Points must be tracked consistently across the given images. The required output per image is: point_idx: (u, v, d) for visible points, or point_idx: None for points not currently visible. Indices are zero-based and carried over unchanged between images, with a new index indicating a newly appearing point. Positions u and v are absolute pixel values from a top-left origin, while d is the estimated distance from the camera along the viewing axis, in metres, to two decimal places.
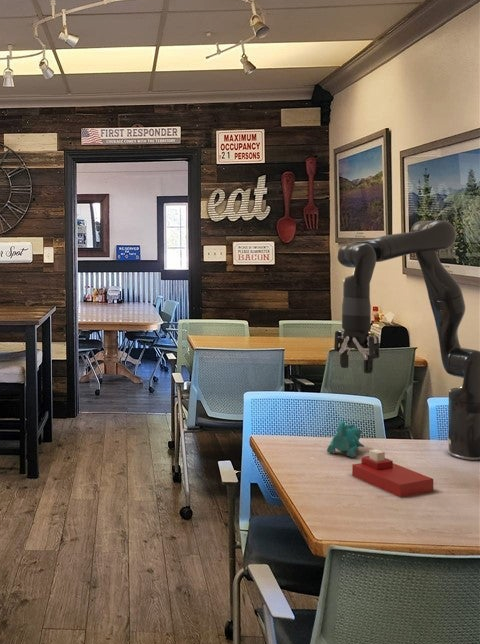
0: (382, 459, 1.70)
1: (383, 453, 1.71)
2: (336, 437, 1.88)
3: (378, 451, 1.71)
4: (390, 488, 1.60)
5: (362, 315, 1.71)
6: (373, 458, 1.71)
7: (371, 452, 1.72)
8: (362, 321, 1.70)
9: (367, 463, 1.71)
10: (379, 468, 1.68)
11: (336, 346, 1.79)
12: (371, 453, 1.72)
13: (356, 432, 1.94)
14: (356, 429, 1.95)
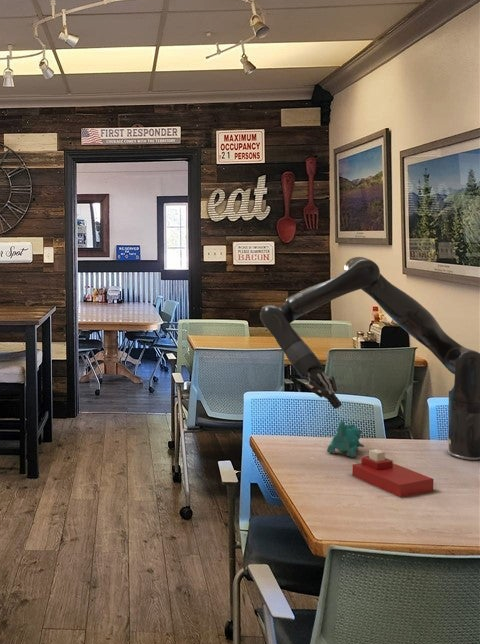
0: (382, 459, 1.70)
1: (383, 453, 1.71)
2: (336, 437, 1.88)
3: (378, 451, 1.71)
4: (390, 488, 1.60)
5: (294, 363, 1.89)
6: (373, 458, 1.71)
7: (371, 452, 1.72)
8: (297, 367, 1.88)
9: (367, 463, 1.71)
10: (379, 468, 1.68)
11: None
12: (371, 453, 1.72)
13: (356, 432, 1.94)
14: (356, 429, 1.95)
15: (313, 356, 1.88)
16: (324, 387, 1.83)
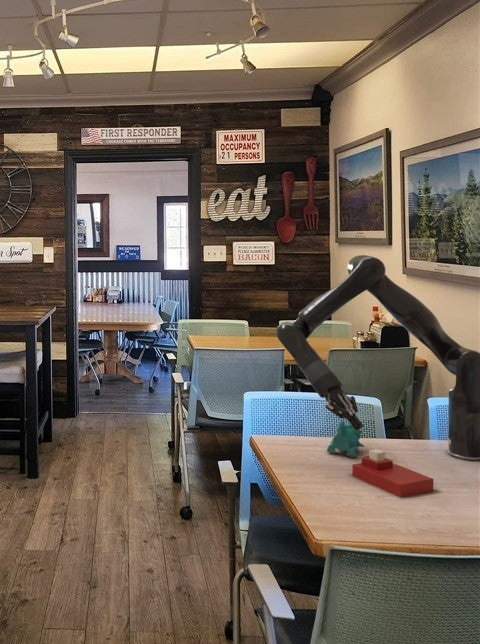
0: (382, 459, 1.70)
1: (383, 453, 1.71)
2: (336, 437, 1.88)
3: (378, 451, 1.71)
4: (390, 488, 1.60)
5: (313, 382, 1.84)
6: (373, 458, 1.71)
7: (371, 452, 1.72)
8: (316, 387, 1.83)
9: (367, 463, 1.71)
10: (379, 468, 1.68)
11: None
12: (371, 453, 1.72)
13: (356, 432, 1.94)
14: None
15: (333, 375, 1.82)
16: (345, 408, 1.78)
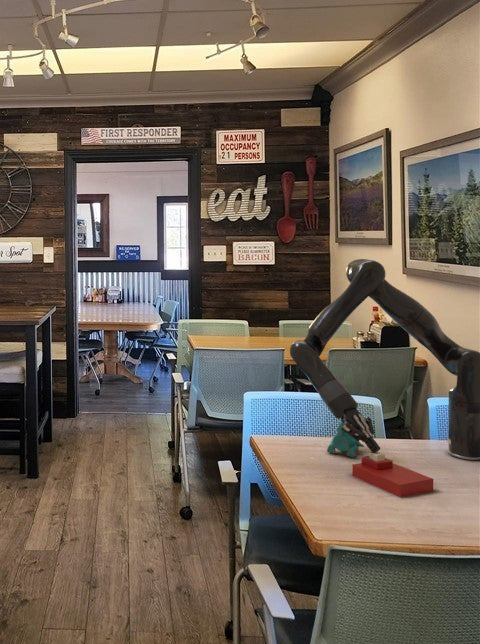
0: None
1: (383, 455, 1.70)
2: (336, 437, 1.88)
3: (378, 453, 1.71)
4: (390, 488, 1.60)
5: (328, 403, 1.80)
6: None
7: (371, 454, 1.71)
8: (331, 408, 1.79)
9: (367, 463, 1.71)
10: (379, 468, 1.68)
11: None
12: (371, 455, 1.71)
13: None
14: None
15: (348, 396, 1.78)
16: (361, 430, 1.74)
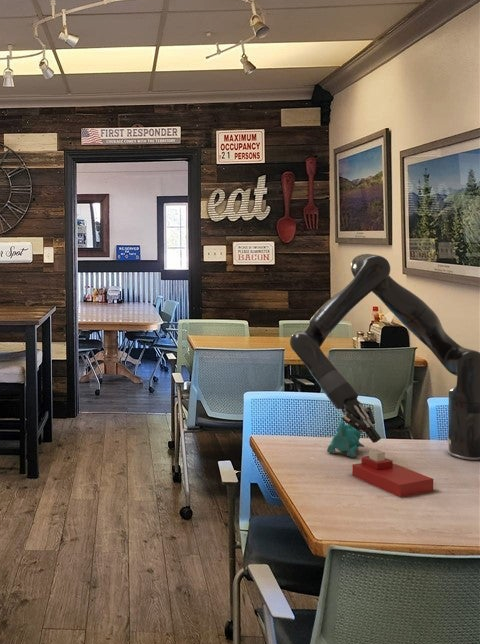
0: (382, 459, 1.70)
1: (383, 453, 1.71)
2: (336, 437, 1.88)
3: (378, 451, 1.71)
4: (390, 488, 1.60)
5: (328, 393, 1.80)
6: (373, 458, 1.71)
7: (371, 452, 1.72)
8: (332, 398, 1.79)
9: (367, 463, 1.71)
10: (379, 468, 1.68)
11: None
12: (371, 453, 1.72)
13: (356, 432, 1.94)
14: None
15: (349, 386, 1.78)
16: (362, 420, 1.74)
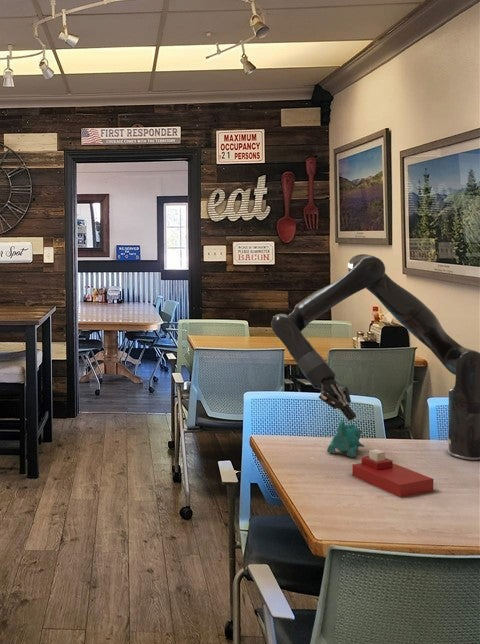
0: (382, 459, 1.70)
1: (383, 453, 1.71)
2: (336, 437, 1.88)
3: (378, 451, 1.71)
4: (390, 488, 1.60)
5: (306, 373, 1.86)
6: (373, 458, 1.71)
7: (371, 452, 1.72)
8: (310, 378, 1.85)
9: (367, 463, 1.71)
10: (379, 468, 1.68)
11: None
12: (371, 453, 1.72)
13: (356, 432, 1.94)
14: (356, 429, 1.95)
15: (326, 366, 1.84)
16: (338, 398, 1.79)
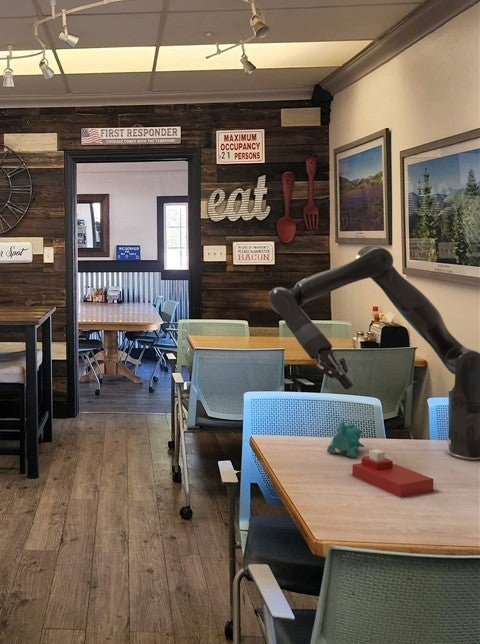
0: (382, 459, 1.70)
1: (383, 453, 1.71)
2: (336, 437, 1.88)
3: (378, 451, 1.71)
4: (390, 488, 1.60)
5: (304, 345, 1.88)
6: (373, 458, 1.71)
7: (371, 452, 1.72)
8: (307, 349, 1.87)
9: (367, 463, 1.71)
10: (379, 468, 1.68)
11: None
12: (371, 453, 1.72)
13: (356, 432, 1.94)
14: (356, 429, 1.95)
15: (323, 337, 1.86)
16: (335, 368, 1.82)
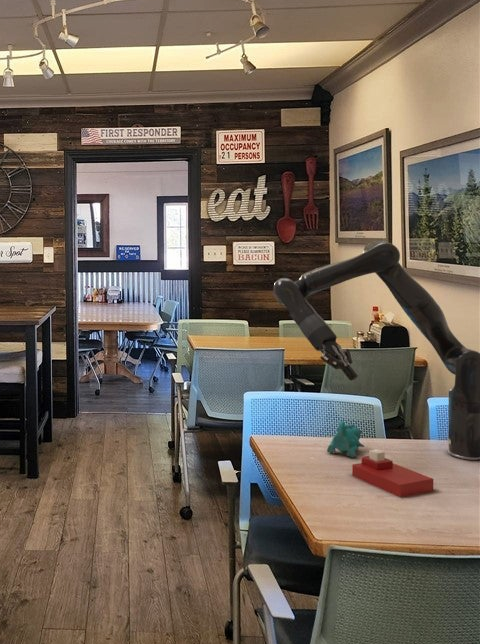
0: (382, 459, 1.70)
1: (383, 453, 1.71)
2: (336, 437, 1.88)
3: (378, 451, 1.71)
4: (390, 488, 1.60)
5: (308, 336, 1.87)
6: (373, 458, 1.71)
7: (371, 452, 1.72)
8: (311, 340, 1.86)
9: (367, 463, 1.71)
10: (379, 468, 1.68)
11: None
12: (371, 453, 1.72)
13: (356, 432, 1.94)
14: (356, 429, 1.95)
15: (328, 328, 1.86)
16: (339, 359, 1.81)
